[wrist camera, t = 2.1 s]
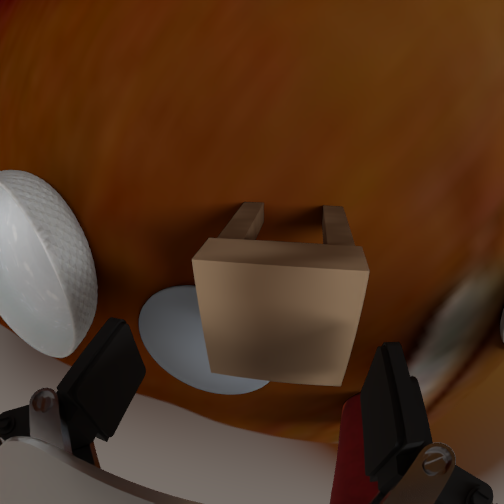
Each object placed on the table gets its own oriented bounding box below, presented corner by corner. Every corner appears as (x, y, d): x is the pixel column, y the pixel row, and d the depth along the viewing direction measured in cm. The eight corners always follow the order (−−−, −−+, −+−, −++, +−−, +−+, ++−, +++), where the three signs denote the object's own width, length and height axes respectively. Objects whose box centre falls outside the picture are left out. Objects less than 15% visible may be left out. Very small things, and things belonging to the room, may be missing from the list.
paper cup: (322, 420, 27) (310, 537, 14) (346, 380, 23) (341, 528, 11) (386, 424, 26) (389, 533, 13) (418, 385, 22) (436, 515, 10)
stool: (346, 203, 16) (369, 271, 9) (336, 293, 19) (340, 386, 12) (240, 198, 18) (191, 259, 11) (245, 287, 20) (211, 372, 13)
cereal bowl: (149, 320, 24) (109, 375, 18) (48, 310, 28) (13, 344, 22) (88, 129, 17) (14, 147, 11) (-1, 180, 21) (-48, 202, 15)
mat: (282, 293, 20) (282, 296, 20) (277, 399, 26) (277, 402, 25) (125, 277, 22) (123, 279, 22) (158, 377, 28) (157, 380, 28)
